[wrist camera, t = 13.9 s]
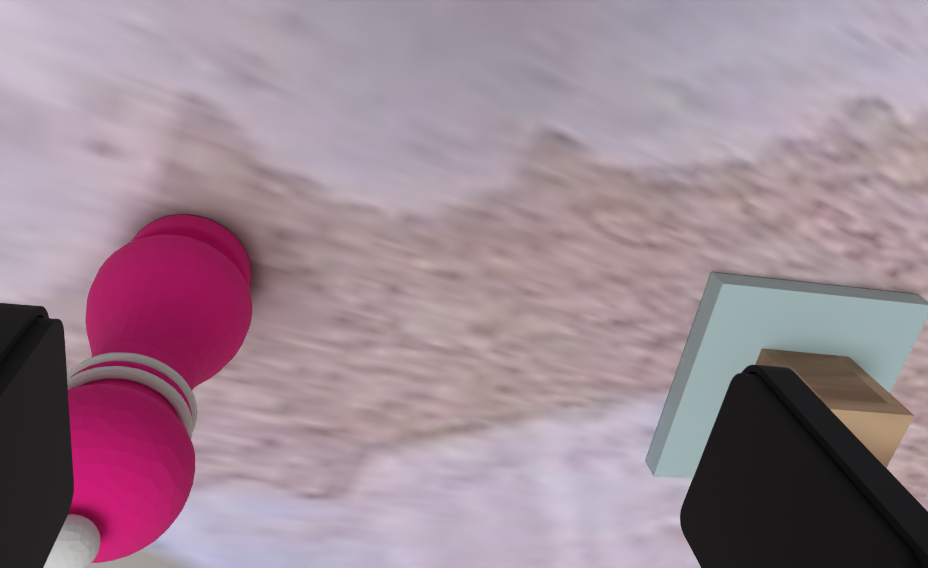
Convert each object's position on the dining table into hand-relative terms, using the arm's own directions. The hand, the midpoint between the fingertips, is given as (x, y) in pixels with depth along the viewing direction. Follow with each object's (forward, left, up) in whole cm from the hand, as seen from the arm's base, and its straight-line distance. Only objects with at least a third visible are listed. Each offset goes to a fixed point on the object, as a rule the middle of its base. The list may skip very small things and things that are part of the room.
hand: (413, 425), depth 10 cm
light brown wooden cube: (+16, +28, -27) cm, 42 cm away
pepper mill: (+12, -8, -28) cm, 32 cm away
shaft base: (+16, +28, -28) cm, 43 cm away
